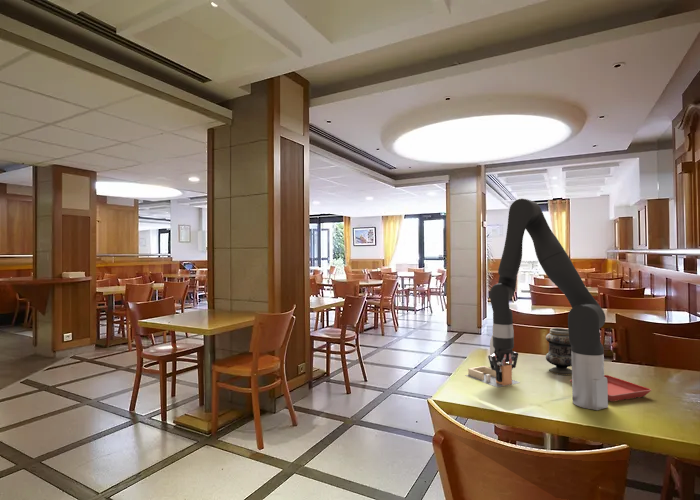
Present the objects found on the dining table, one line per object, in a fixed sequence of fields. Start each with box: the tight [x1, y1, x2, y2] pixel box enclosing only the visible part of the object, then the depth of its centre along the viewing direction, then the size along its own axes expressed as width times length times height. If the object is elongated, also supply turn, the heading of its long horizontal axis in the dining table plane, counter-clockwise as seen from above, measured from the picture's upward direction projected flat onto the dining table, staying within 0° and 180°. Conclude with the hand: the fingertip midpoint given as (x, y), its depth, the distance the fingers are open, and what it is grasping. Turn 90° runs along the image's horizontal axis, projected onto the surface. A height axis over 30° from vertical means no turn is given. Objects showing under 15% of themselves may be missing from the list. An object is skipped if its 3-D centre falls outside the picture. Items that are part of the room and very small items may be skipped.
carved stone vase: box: [545, 327, 572, 376], centre depth 168 cm, size 12×12×18 cm
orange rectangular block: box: [496, 363, 513, 386], centre depth 151 cm, size 4×4×7 cm
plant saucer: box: [569, 374, 652, 402], centre depth 142 cm, size 18×18×3 cm
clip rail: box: [464, 365, 521, 388], centre depth 156 cm, size 17×12×4 cm
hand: (503, 380), depth 151 cm, fingers closed on orange rectangular block, 4 cm apart
